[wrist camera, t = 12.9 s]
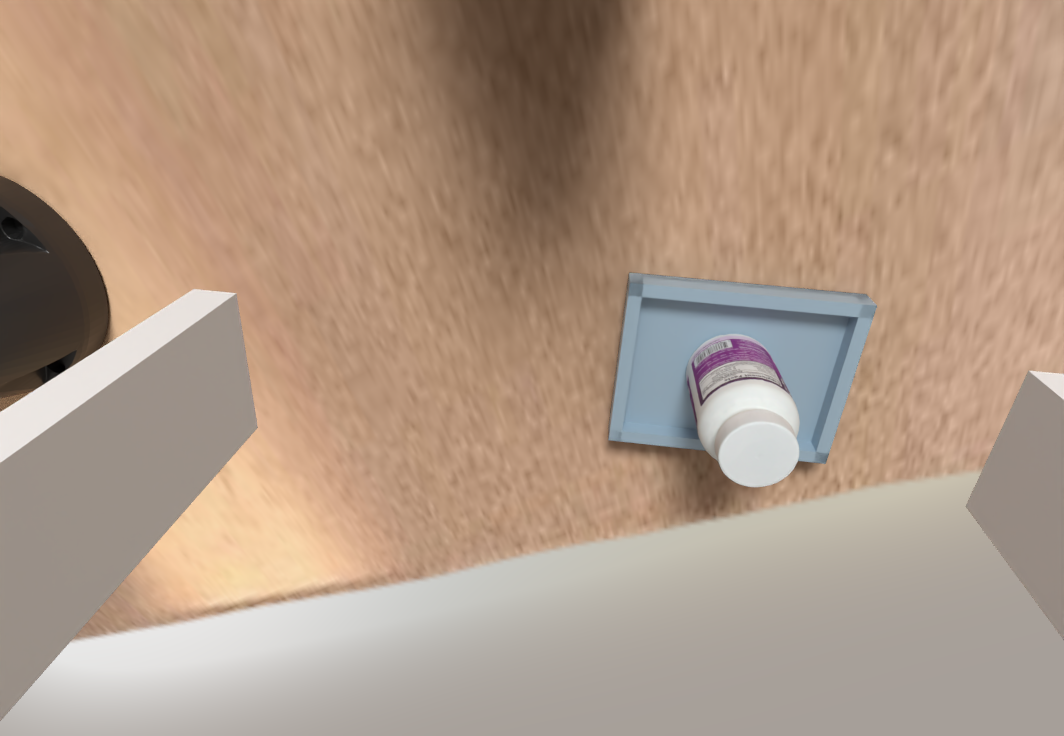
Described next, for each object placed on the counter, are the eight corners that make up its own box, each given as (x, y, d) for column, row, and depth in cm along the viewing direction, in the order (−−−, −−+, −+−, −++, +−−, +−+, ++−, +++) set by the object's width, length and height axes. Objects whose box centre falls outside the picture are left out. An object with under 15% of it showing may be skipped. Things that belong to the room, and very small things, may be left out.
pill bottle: (763, 409, 43) (800, 505, 34) (679, 402, 43) (696, 494, 35) (780, 333, 40) (826, 416, 32) (692, 326, 41) (714, 406, 32)
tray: (608, 425, 45) (608, 440, 44) (629, 272, 40) (629, 282, 39) (817, 447, 44) (825, 463, 43) (866, 294, 39) (876, 305, 38)
